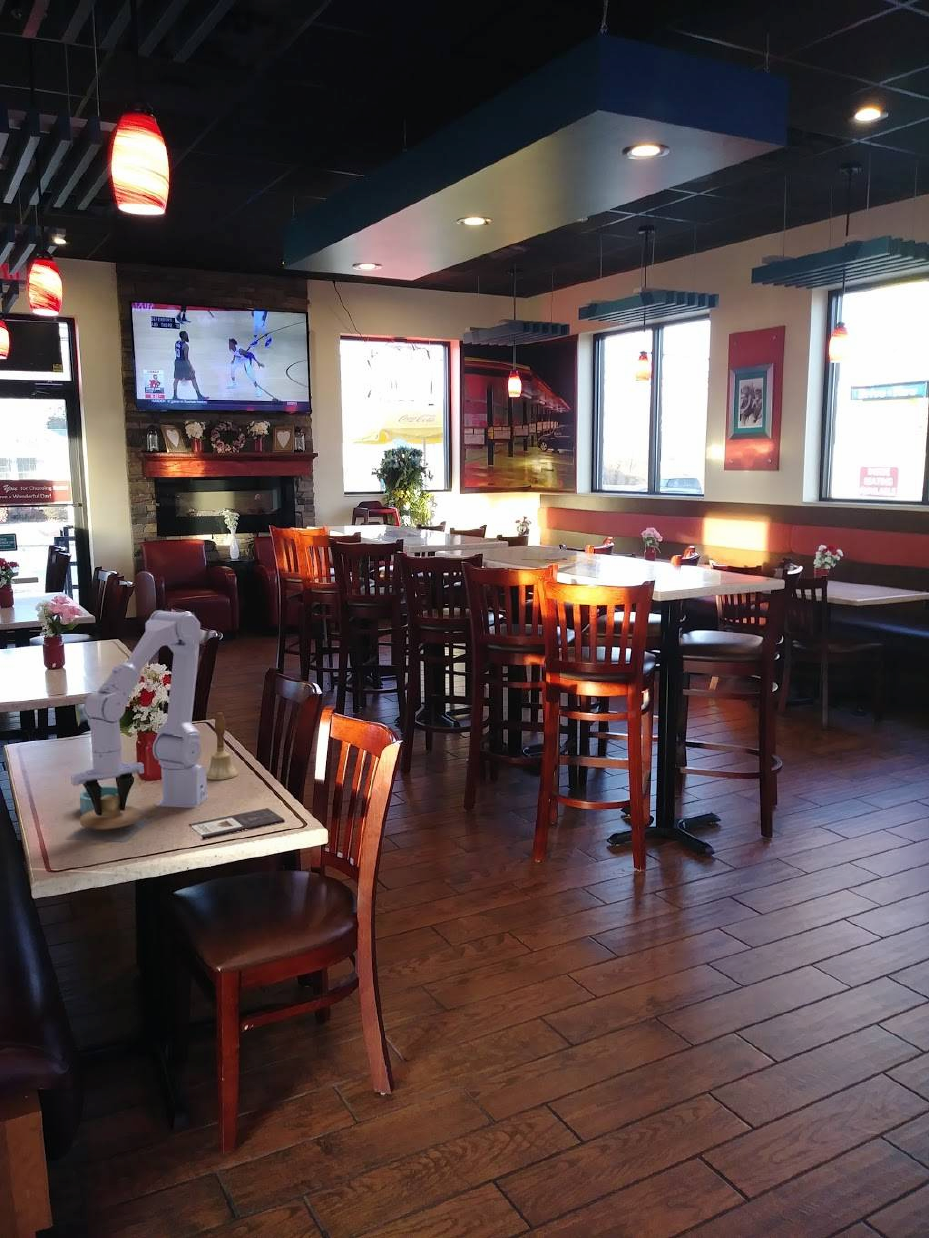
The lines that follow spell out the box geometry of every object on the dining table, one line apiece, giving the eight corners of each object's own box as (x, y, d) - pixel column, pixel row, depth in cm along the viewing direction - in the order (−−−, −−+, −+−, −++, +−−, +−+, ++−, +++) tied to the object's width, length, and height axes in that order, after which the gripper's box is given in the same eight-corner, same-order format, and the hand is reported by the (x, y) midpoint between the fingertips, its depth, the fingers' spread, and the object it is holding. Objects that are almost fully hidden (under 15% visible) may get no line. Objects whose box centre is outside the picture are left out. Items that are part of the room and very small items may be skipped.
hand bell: (216, 768, 250) (214, 708, 247) (244, 772, 247) (242, 710, 244) (197, 778, 242) (194, 715, 240) (225, 781, 239) (223, 718, 237)
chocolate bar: (284, 819, 211) (203, 836, 201) (284, 823, 212) (203, 841, 201) (267, 808, 219) (188, 824, 209) (267, 812, 219) (189, 828, 209)
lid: (150, 810, 211) (149, 789, 210) (124, 830, 199) (123, 808, 199) (97, 808, 212) (96, 787, 212) (69, 828, 201) (67, 805, 200)
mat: (153, 821, 212) (153, 819, 212) (126, 843, 199) (125, 841, 199) (96, 818, 213) (96, 816, 213) (65, 840, 201) (65, 838, 200)
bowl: (131, 803, 223) (130, 787, 222) (112, 817, 214) (111, 800, 213) (93, 802, 224) (92, 785, 223) (72, 816, 215) (71, 798, 214)
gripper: (134, 739, 211) (137, 799, 213) (64, 751, 202) (68, 813, 204) (146, 746, 206) (149, 808, 208) (75, 758, 197) (79, 823, 199)
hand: (110, 811), depth 206 cm, fingers closed on lid, 4 cm apart
